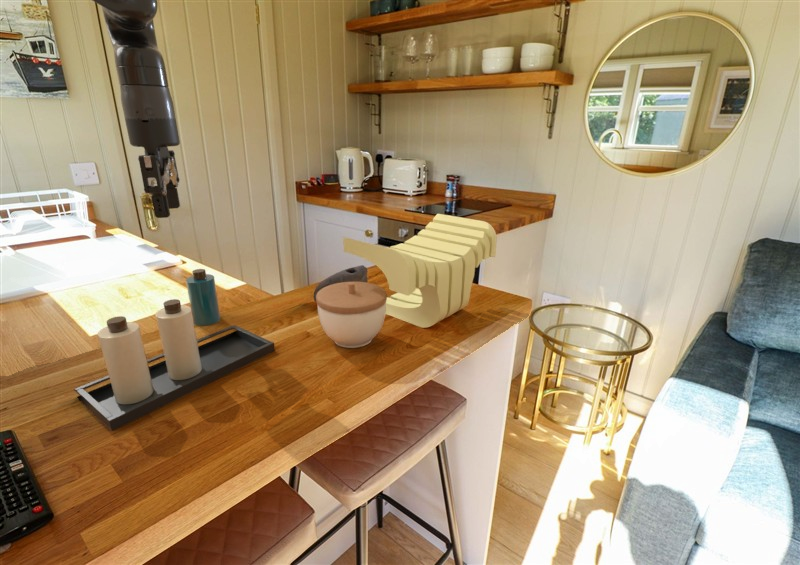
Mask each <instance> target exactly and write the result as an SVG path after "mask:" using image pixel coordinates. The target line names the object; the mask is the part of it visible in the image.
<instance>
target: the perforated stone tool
mask: <svg viewBox="0 0 800 565" xmlns="http://www.w3.org/2000/svg"><path fill="white" fill-rule="evenodd" d="M368 281H369V280H368V268H367V267H366V266H365V265H363V264H362V265H357V266H353V267H349V268H345V269H343V270H340V271H338V272H336V273H334V274H332V275H329V276H328V277H327V278H325V279H323V280H322V281H321V282H320V283H318V284H317V286H316V287H315V288H314V290H313V300H314V301H313V302H315V303H316V304H317V302H316V295H317V293H318V292H319V291H320V290H321V289H322V288H324V287H326V286H329V285H332V284H336V283H342V282H366V283H369V282H368Z"/></svg>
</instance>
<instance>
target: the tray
mask: <svg viewBox="0 0 800 565" xmlns="http://www.w3.org/2000/svg"><path fill="white" fill-rule="evenodd" d="M230 330H234V331H233V332H229V333H227V334H225V335H223V336H219V337H218V338H215V339H213V340H210V341H209V342H205V343H204V344H201V345H198V349H199V354H200V360H201V365H202V370H201V372H200V373H199V374H197V375H196V376H194V377H192V378H189V379H184V380H173V379H171V378H169V376H168V372H167V367H166V362H165V360H162V361H160V362H157V363H155V364H152V365H150V366H149V371H150V375H151V379H152V384H153V388H154V391H153V393H152V394H151V395H150V396H149V397H148V398H146V399H144V400H142V401H140V402H137V403H134V404H126V405H124V404H119V403H117V402H116V400H115V397H114V393H113V390H112V386H111V382H109V383H107V384H103V385H102V386H99V387H97V388H95V389H93V390H90V391H86V390H85V389H89V388H90V387H93V386H95V385H97V384H101V383H103V382H104V381H108V380H110V379H109V375H108V374H107V375H105V376H103V377H101V378H98V379H95V380H93V381H90V382H87V383H86V384H83V385H80V386H78V387H75V388H74V389H73V390H74V391H75V392H76V393H77V394H78V396H76V399H77V400H78V401H79V402H80V403H81V404H82V405H83V406H85V407H86V408H87V409H88V410H89V411H90V412H91V413H92V414H93V415H94V416H95V417H96V418H97V419H98V420H99V421H101V422H102V424H103V425H104V426H106V427H107V428H108V429H109V430H110V431H111V432H112V431H115V430H117V429H119V428H121V427H123V426H125V425H127V424H130V423H131V422H133V421H135V420H138V419H139V418H142V417H144V416H145V415H147V414H149V413H151V412H154V411H156V410H157V409H159V408H162V407H164V406H166V405H168V404H169V403H172V402H173V401H176V400H178V399H181V398H182V397H184V396H186V395H188V394H190V393H192V392H194V391H196V390H198V389H200V388H202V387H205V386H206V385H208V384H210V383H213V382H215V381H216V380H219V379H221V378H222V377H224V376H226V375H227V376H228V375H229V374H231V373H233V372H235V371H236V370H240V369H241V368H243V367H245V366H247V365H249V364H251V363H253V362H255V361H257V360H259V359H260V358H263V357H265V356H267V355H269V354H272V353H273V352H276V350H275V349H276V348H275V342H273V341H271V340H268V339H266V338H264V337H262V336H260V335H258V334H256V333H253V332H251V331H249V330H246V329H244V328H242V327H240V326H238V325H235V324H233V325H230V326H228V327H226V328H223V329H220V330H217V331H216V332H213V333H210V334H208V335H205V336H203V337H200V338H197V343H198V344H199V343H201V342H204V341H205V340H208V339H211V338H213V337H215V336H218V335H220V334H223V333H225V332H227V331H230ZM161 358H164V353H160V354H157V355H156V356H153V357H150V358H148V359H147V362H148V364H149V363H151V362H154V361H157V360H159V359H161Z"/></svg>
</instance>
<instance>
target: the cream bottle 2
mask: <svg viewBox="0 0 800 565" xmlns="http://www.w3.org/2000/svg"><path fill="white" fill-rule="evenodd" d="M162 303H163V308H160V309H159V310H157V311H156V312H155V314H154V316H155V319H156V324H157V330H158V334H159V337H160V338H159V339H160V343H161V348H162V352H163V353H164V357H163V358H164V361H165V362H166V367H167V372H168V376H169V378H171V379H173V380H184V379H189V378H192V377H194V376H196V375H197V374H199V373H200V372H201V370H202V365H201V360H200V354H199V349H198V346H199V342H198V343H197V340H198V338H197V334H196V328H195V327H196V326H195V324H194V321H193V316H192V310H191V307H190V306H189V305H185V304H181V300H180V299H177V298H176V299H175V298H173V299H169V300H165V301H164V302H162ZM163 353H162V354H163Z"/></svg>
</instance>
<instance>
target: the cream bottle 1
mask: <svg viewBox="0 0 800 565" xmlns="http://www.w3.org/2000/svg"><path fill="white" fill-rule="evenodd" d="M106 325H107V326H105V327H103V328H102V329H100V330H98V332H97V339H98V342H99V346H100V349H101V353H102V356H103V360H104V365H105V368H106V372H107V376H108V375H109V379H108V380H109V383H111V386H112V390H113V393H114V397H115V400H116V402H117V403H119V404H124V405H126V404H134V403H137V402H140V401H142V400H144V399H146V398H148V397H149V396H150V395H151V394H152V393H153V391H154V388H153V384H152V379H151V375H150V371H149V367H150V366H149V363H148V362H147V360H148V359H147V354H146V350H145V345H144V341H143V337H142V332H141V329H140V325H139V324H138V323H137V322H134V321H127V317H126V316H123V315H120V316H114V317H111V318H108V319H107V320H106Z"/></svg>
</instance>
